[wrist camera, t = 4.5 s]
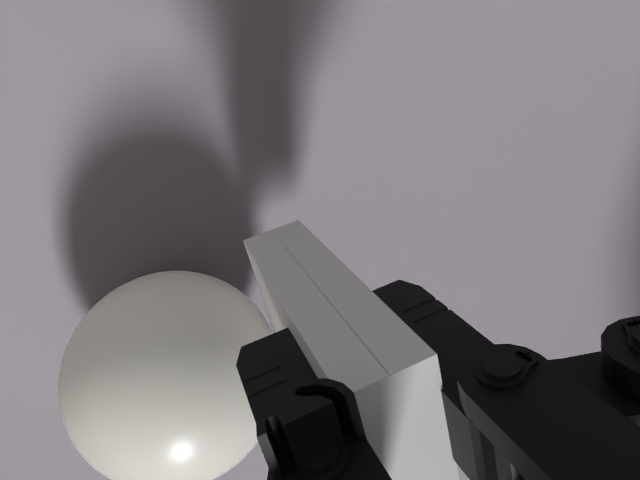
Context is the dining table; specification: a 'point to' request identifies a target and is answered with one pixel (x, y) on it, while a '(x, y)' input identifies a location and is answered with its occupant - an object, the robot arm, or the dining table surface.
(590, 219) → the dining table surface
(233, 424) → the cue ball
